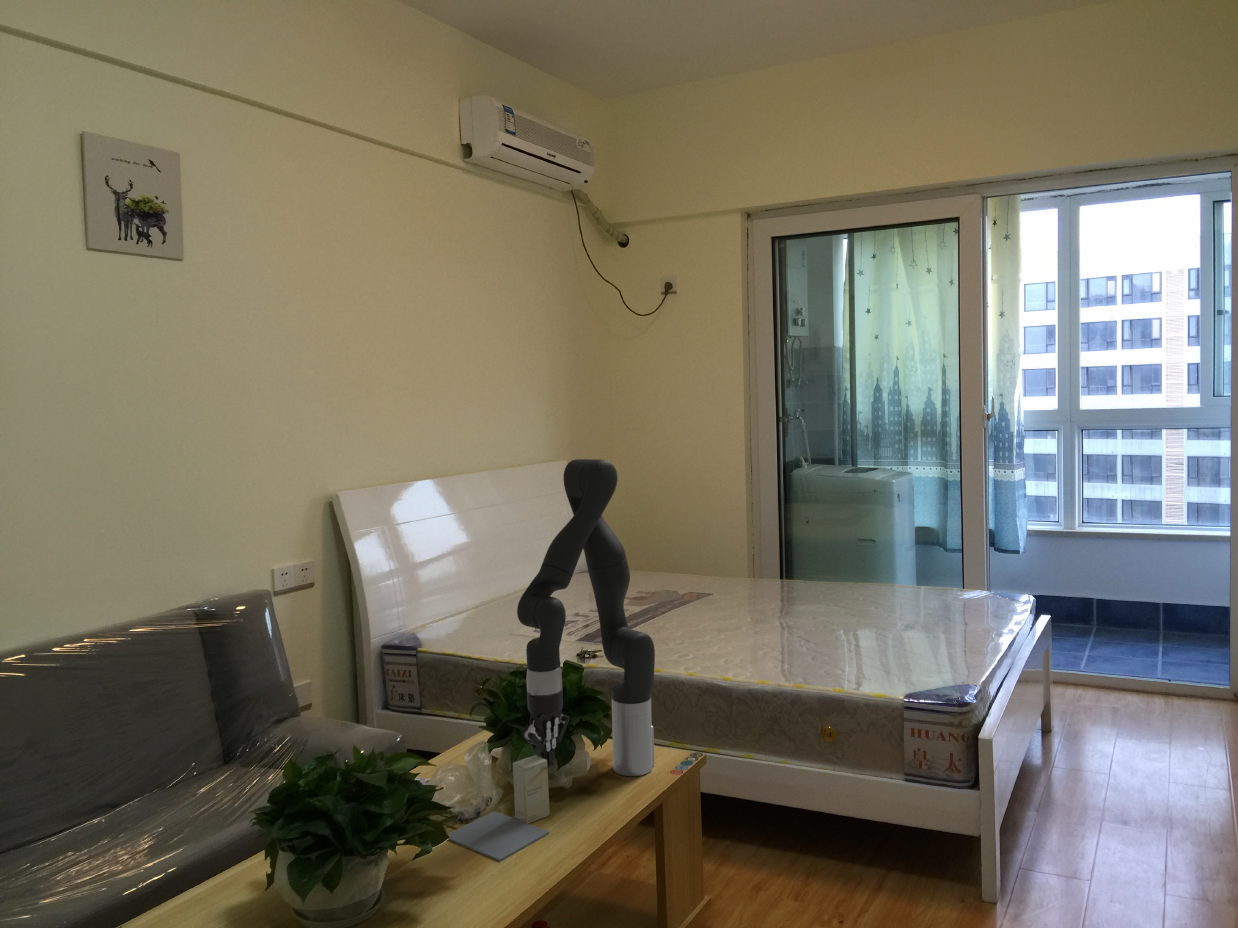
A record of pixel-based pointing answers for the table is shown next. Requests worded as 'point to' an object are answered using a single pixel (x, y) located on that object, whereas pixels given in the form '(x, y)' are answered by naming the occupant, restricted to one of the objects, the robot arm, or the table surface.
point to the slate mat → (497, 835)
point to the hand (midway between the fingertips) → (548, 765)
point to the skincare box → (531, 789)
